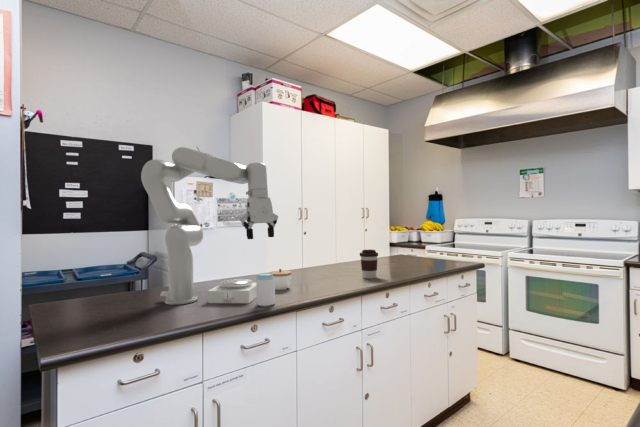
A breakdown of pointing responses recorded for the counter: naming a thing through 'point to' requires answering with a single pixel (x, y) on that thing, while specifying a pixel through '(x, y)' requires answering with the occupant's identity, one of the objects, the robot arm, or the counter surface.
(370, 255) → the coffee cup
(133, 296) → the counter surface
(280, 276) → the lidded jar
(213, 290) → the scale base
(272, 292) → the can
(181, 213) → the robot arm
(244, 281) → the scale pan
